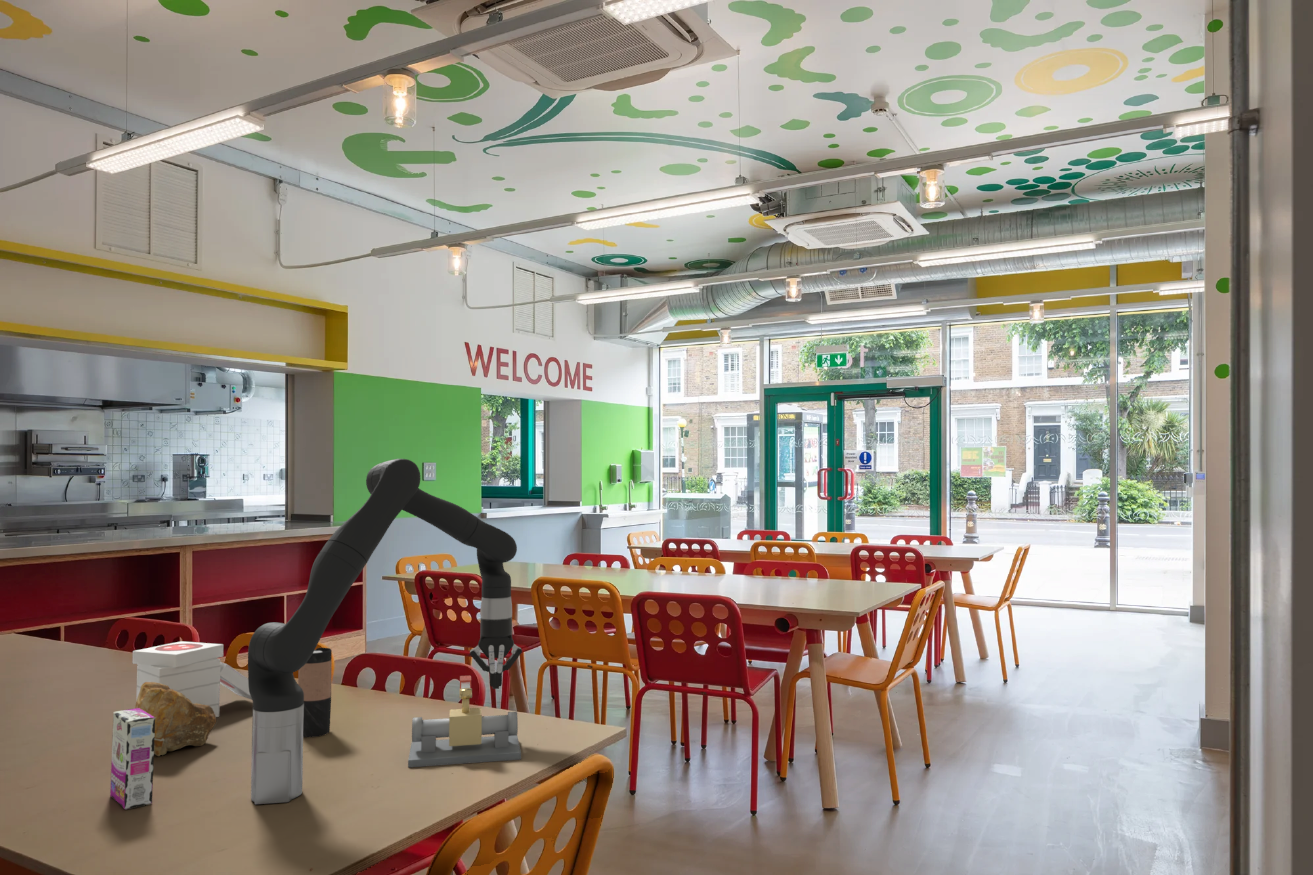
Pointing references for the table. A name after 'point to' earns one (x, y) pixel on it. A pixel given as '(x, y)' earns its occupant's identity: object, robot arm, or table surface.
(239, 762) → the table surface
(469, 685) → the lever
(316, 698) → the travel mug
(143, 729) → the candy bar box
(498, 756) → the valve stand
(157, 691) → the rough brown rock
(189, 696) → the pizza boxes
